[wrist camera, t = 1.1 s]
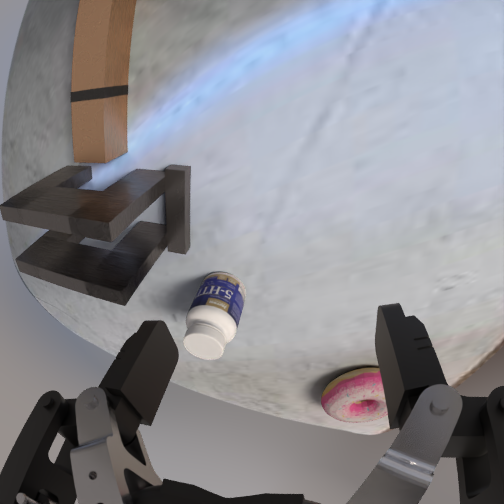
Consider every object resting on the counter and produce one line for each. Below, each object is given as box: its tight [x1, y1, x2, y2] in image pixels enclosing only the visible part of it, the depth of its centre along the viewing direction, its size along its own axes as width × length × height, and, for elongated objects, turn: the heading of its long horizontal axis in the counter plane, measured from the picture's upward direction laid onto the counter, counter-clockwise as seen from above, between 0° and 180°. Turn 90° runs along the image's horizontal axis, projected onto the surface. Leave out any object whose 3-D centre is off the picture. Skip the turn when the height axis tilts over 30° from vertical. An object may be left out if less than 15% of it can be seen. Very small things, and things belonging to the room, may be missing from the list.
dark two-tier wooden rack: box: [0, 165, 191, 306], centre depth 25 cm, size 9×19×11 cm, turn 84°
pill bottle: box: [183, 272, 246, 360], centre depth 30 cm, size 5×5×9 cm
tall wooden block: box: [71, 0, 136, 163], centre depth 19 cm, size 19×4×4 cm, turn 174°
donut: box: [321, 368, 388, 423], centre depth 39 cm, size 14×13×5 cm
